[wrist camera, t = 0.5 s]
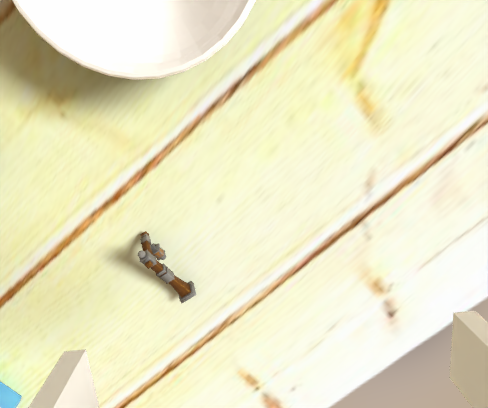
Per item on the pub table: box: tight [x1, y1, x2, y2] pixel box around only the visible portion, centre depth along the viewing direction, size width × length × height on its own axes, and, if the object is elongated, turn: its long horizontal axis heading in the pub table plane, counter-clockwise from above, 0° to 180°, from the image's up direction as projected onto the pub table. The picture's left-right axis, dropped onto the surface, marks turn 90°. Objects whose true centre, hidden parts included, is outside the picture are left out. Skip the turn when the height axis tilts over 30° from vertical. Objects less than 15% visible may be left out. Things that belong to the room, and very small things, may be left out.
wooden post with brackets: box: [138, 231, 196, 303], centre depth 40 cm, size 2×8×4 cm, turn 32°
